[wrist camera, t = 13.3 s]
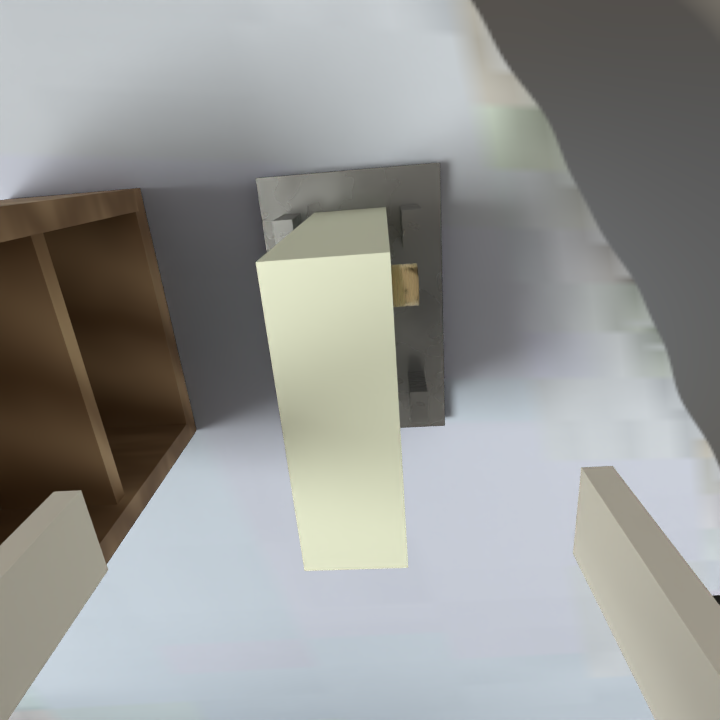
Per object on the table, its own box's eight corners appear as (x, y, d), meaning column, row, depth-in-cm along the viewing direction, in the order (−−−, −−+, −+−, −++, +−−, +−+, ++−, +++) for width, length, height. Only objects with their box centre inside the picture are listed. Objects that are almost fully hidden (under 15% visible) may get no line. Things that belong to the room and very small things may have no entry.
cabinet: (196, 430, 35) (25, 685, 18) (85, 436, 35) (-181, 689, 18) (139, 187, 29) (-197, 232, 12) (7, 199, 29) (-491, 256, 12)
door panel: (412, 400, 32) (434, 566, 19) (335, 404, 32) (304, 571, 19) (404, 205, 27) (424, 249, 14) (314, 212, 28) (255, 262, 15)
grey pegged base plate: (443, 418, 33) (450, 450, 30) (296, 425, 34) (285, 458, 30) (438, 162, 27) (447, 163, 24) (259, 177, 28) (241, 181, 24)
